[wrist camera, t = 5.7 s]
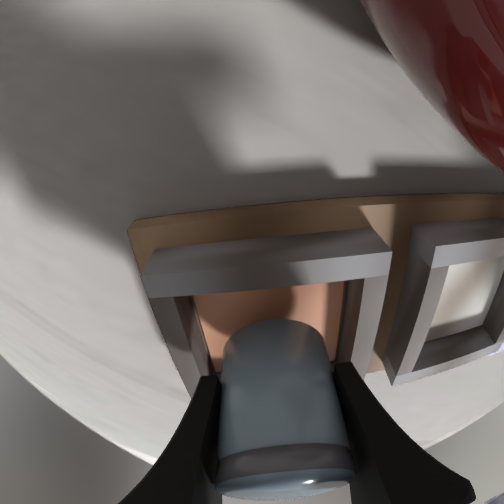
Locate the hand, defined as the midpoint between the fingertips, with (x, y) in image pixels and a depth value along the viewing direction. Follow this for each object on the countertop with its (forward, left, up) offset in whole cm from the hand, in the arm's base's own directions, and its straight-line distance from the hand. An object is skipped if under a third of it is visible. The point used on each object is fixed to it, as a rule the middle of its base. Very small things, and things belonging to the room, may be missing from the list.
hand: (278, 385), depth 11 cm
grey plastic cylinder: (0, 0, -2) cm, 2 cm away
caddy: (-5, 0, -5) cm, 7 cm away
